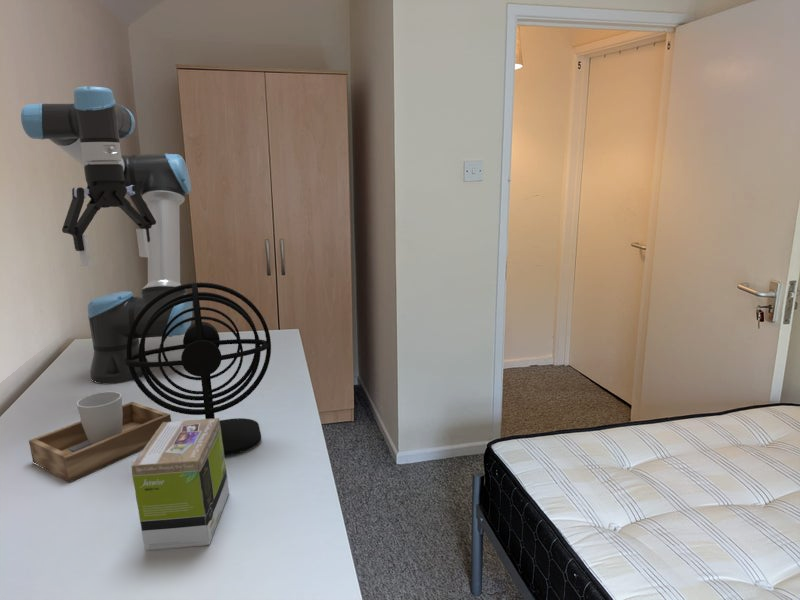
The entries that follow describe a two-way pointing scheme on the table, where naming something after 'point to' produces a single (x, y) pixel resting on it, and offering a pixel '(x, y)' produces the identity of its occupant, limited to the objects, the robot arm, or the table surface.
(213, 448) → the tea box
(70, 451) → the wooden box
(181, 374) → the desk fan
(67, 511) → the table surface
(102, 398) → the cup
